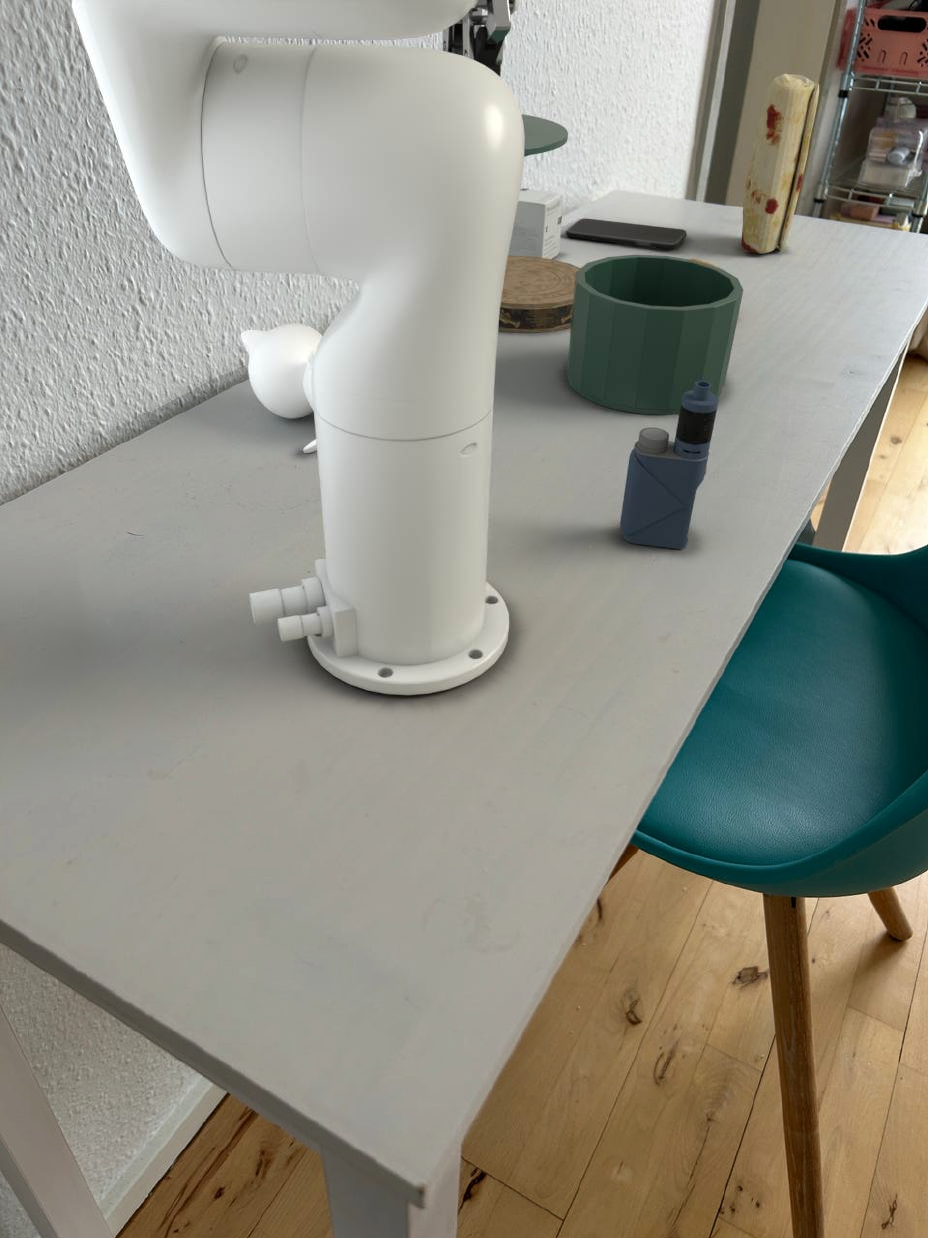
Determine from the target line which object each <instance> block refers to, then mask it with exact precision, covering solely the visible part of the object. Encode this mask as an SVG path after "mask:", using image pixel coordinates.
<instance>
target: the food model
mask: <svg viewBox="0 0 928 1238" xmlns="http://www.w3.org/2000/svg"><path fill="white" fill-rule="evenodd" d="M819 95H820V84H819V82H816V81H813V80H810V79H809V78H807V77H806V76H804V75H801V74H787V73H783V74H780V75H778V76H776V77H774V78H773V79H772V81H770V83H769V85H768V88H767V92H766V96H765V98H764V103H763V105H762V106H763V107H762V110H761V114H760V118H759V122H758V124H757V128H756V132H755V136H754V140H753V146H752V151H751V154H750V160H749V165H748V169H747V173H746V179H745V187H744V195H743V196H744V197H743V204H742V226H741V240H740V241H741V242H740V243H741V247H742V249H744V251H745V252H746V253H755V254H767V253H770V252H773V251H774V250H776V248H777V247H778V249H779V251H783V250H785V248H786V246H787V243H788V239H789V235H790V232H791V227H792V223H793V219H794V215H795V212H796V207H797V203H798V199H799V195H800V191H801V187H802V182H803V179H804V173H805V169H806V164H807V159H808V155H809V149H810V148H809V147H810V142H811V141H810V140H811V138H812V131H813V127H814V122H815V117H816V112H817V108H818V102H819Z"/></svg>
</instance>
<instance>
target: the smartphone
mask: <svg viewBox="0 0 928 1238" xmlns="http://www.w3.org/2000/svg"><path fill="white" fill-rule="evenodd" d="M566 236H567V237H569V238H575V239H582V240H583V239H584V240H591V241H599V242H606V243H617V244H623V245H624V244H626V245H630V246H631V245H632V246H641V247H647V248H654V249H658V250H659V249H660V250H667V251H672V250H674V249H677V248H678V247H679V246H680V244H681V243H682V242H683V240H685V239H686V237H687V230H685V229H682V228H674V227H668V226H667V227H666V226H658V225H657V226H656V225H648V224H638V223H631V222H620V221H613V220H605V219H596V218H595V219H594V218H580V219H578V220H577V221H576V222H575V223H573V224H572V225H571V226H570V227H568V229H567V230H566Z"/></svg>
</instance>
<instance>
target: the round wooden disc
mask: <svg viewBox="0 0 928 1238" xmlns="http://www.w3.org/2000/svg"><path fill="white" fill-rule="evenodd" d="M580 268H581V267H579V266H577V265H574V264H572V263H568V262H566V261H565V262H564V261H561V260H557V259H554V258H552V259H547V258H539V257H530V256H508V258H507V263H506V270H505V277H504V284H503V291H502V297H501V304H500V312H499V325H498V331H500V332H507V333H529V334H531V333H533V334H535V333H545V332H555V331H560V330H564V329H567V328H571V320H572V309H573V298H574V287H575V276H576V272H577V271H578V270H579V269H580Z"/></svg>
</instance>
